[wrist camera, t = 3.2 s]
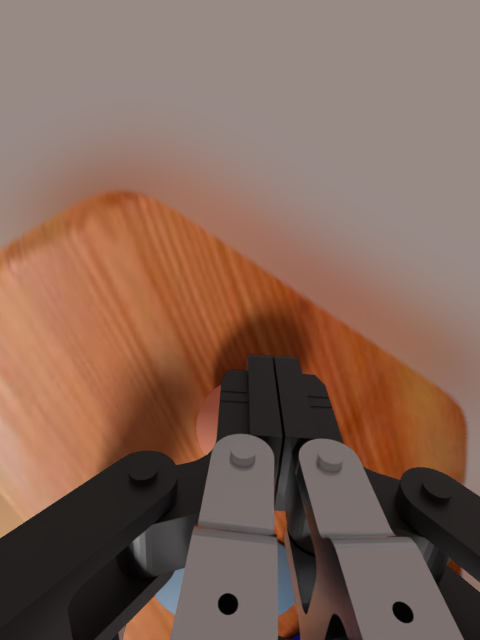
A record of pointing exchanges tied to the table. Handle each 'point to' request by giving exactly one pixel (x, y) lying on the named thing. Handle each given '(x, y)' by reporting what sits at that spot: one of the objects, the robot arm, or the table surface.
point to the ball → (208, 421)
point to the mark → (285, 590)
